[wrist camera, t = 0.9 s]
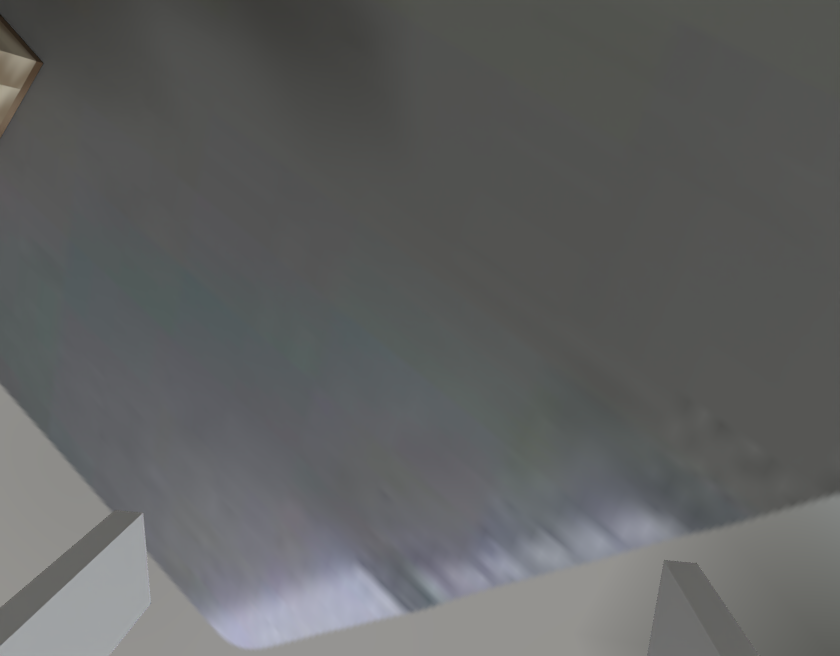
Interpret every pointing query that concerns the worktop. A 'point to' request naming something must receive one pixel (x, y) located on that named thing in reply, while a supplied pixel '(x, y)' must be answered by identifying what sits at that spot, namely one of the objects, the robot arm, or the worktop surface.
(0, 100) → the holder block
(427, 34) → the worktop surface
